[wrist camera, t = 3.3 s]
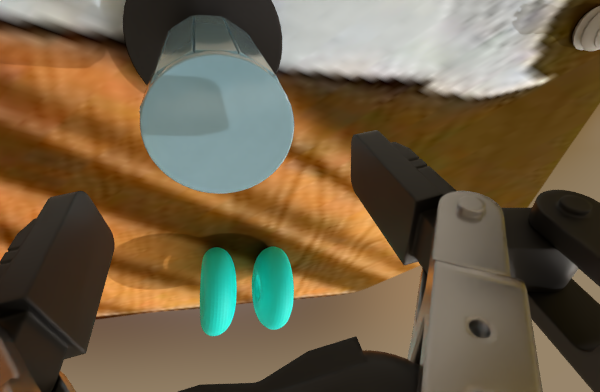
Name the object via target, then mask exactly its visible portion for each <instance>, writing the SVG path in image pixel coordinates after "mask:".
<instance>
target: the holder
mask: <svg viewBox="0 0 600 392" xmlns="http://www.w3.org/2000/svg"><path fill="white" fill-rule="evenodd" d="M192 15H193V16H194V15H208V16H222V18H224V17H225V18H226V19H228V20H229V21H230V22H232V23H233V24H235V25H236V26H238V27H239V28H241V29H242V30H244V31H245V32H246V33H247V34H248V35H249V36H250V38H251V39H252V41H253V42H254V44H255V45H256V47H257V48H258V50H259V51H260V53H261V54H262V56H263V57H264V59H265V60H266V62H267V63H268V64H269V66H270V67H271V69H272V70H273V72H274V73H275V75H276V73H277V71H278V68H279V64H280V60H281V53H282V33H281V26H280V22H279V18H278V15H277V12H276V10H275V7H274V5H273V3H272V1H271V0H126V3H125V7H124V15H123V32H124V38H125V43H126V47H127V50H128V54H129V56H130V58H131V61H132V63H133V65H134V67H135V69H136V70H137V72H138V74H139V75H140V77H141V78H142V79H143V81H144V82H145V83H146V84H147V86H148V83H149V80H150V77H151V74H152V72H153V69H154V66H155V63H156V60H157V57H158V54H159V52H160V50H161V47H162V45H163V43H164V40H165V38H166V35H167V33H168V31H170V29H171V28H172V27H174V26H176V25H177V24H179V23H181V22H182V21H184V20H185V19H187V18H189V17H190V16H192Z"/></svg>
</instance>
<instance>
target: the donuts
mask: <svg viewBox="0 0 600 392" xmlns="http://www.w3.org/2000/svg"><path fill="white" fill-rule="evenodd" d="M236 293H237V285H236V272H235V266H234V263H233V260H232V258H231V256H230V255H229V253H228V252H227V251H226V250H224V249H222V248H219V247H214V248H211V249H209V250H208V251H207V252H206V253H205V254H204V256H203V260H202V267H201V284H200V320H201V327H202V329H203V331H204V332H205V333H206V334H207V335H210V336H217V335H220V334H222V333H223V332H224V331H226V330H227V328H228V327H229V325H230V324H231V321H232V319H233V316H234V312H235V306H236ZM293 297H294V285H293V275H292V269H291V265H290V262H289V259H288V257H287V255H286V254H285V252H284V251H283V250H282V249H280V248H278V247H268V248H266V249H264V250H263V251H262V252H261V253H260V254H259V255H258V257H257V259H256V261H255V264H254V269H253V275H252V298H253V305H254V309H255V312H256V315H257V317H258V319H259V320H260V322H261V323H262V324H263V325H264V326H265V327H267V328H269V329H273V330H275V329H279V328H281V327H283V326H284V325H285V324H286V323H287V321H288V319H289V317H290V314H291V311H292V306H293Z"/></svg>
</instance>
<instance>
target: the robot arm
mask: <svg viewBox="0 0 600 392" xmlns="http://www.w3.org/2000/svg"><path fill="white" fill-rule="evenodd" d="M351 182H352V186H353V189H354V191H355V193H356V195H357V196H358V198H359V199H360V201H361V202H362V204H363V205H364V207H365V208H366V210H367V211H368V213H369V214H370V216H371V217H372V219H373V220H374V222H375V223H376V225H377V226H378V228H379V229H380V231H381V232H382V233H383V235H384V236H385V238H386V239H387V241H388V242H389V244H390V245H391V247H392V248H393V250H394V251H395V253H396V254H397V256H398V257H399V259H400V260H401V262H402V263H403V265H407V264H411V263H414V262H419V263H420V265H421V266H422V272H421V278H420V284H419V291H418V299H417V306H416V313H415V320H414V327H413V333H412V339H411V343H410V348H409V354H408V359H405V358H402V357H399V356H397V355H393V354H389V353H385V352H379V351H362V349H361V346H360V344H359V342H358V339H357V337H353V338H349V339H347V340H343V341H340V342H337V343H334V344H330V345H327V346H324V347H321V348H317V349H314V350H311V351H308V352H306V353H305V354H303V355H301V356H300V357H298V358H297V359H295V360H293V361H292V362H290V363H289V364H287V365H285V366H284V367H282V368H281V369H279V370H278V371H276V372H274V373H273V374H271V375H270V376H268V377H266V378H265V379H263V380H261V381H259V382H256V383H239V384H208V385H198V386H195V387H191V388H188V389H185V390H182V391H179V392H543V391H542V385H541V378H540V372H539V365H538V359H537V352H536V345H535V340H534V333H533V326H532V320H533V321H534V322H535V323H536V324H537V326H538V327H539V328H540V329H541V330H542V331H543V333H544V334H545V335H546V336H547V337H548V339H549V340H550V341H551V342H552V343H553V344H554V346H555V347H556V348H557V349H558V350H559V352H560V353H561V354H562V355H563V356H564V357H565V359H566V360H567V361H568V362H569V363H570V364H571V366H572V367H573V368H574V369H575V370H576V371H577V373H578V374H579V375H580V376H581V377H582V379H583V380H584V381H585V382H586V383H587V384H588V386H589V387H590V388H591V389H592V390H593V391H594V392H600V304H599V303H597V302H596V301H595V300H594V299H593V298H592V297H591V296H590V295H589V294H588V293H587V292H586V291H584V290H583V289H582V288H581V287H580V286H579V285H578V284H577V283H576V282H575V281H574V280H573V279H572V277H573V275H574V274H575V273H576V271H577V270H578V269H580V270H581V271H583V272H584V273H585V274H586V275H587V276H588V277H589V278H590V279H592V280H593V281H594V282H595V283H596V284H597V285H599V286H600V203H599V202H597V201H595V200H594V199H592V198H590V197H587V196H585V195H582V194H579V193H576V192H571V191H565V190H551V191H546V192H543V193H541V194H540V195H539V196H538V197H537V199H536V201H535V203H534V205H533V207H532V208H501V207H500V206H499V205H498V204H497V203H496V202H495V201H493V200H492V199H490V198H488V197H486V196H484V195H481V194H478V193H474V192H469V191H456V190H455V189H454V188H453V187H452V186H450V185H449V184H448V183H447V182H446V181H445V180H444V179H443V178H442V177H440V176H439V175H438V174H437V173H436V172H435V171H434V170H433V169H432V168H430V167H429V166H428V167H427V164H426V163H425V162H424V161H423V160H422V159H419V157H418V156H417V155H416V154H415V153H414V152H413V151H412V150H411V149H409V148H407V147H405V146H403V145H401V144H398V143H396V142H392V143H390V142H389V141H388V140H387V139H386V138H385V137H384V136H383V135H382V134H381V133H380V132H379V131H377V130H375V131H370V132H366V133H361V134H356V135H354V136H353V137H352V142H351ZM113 252H114V238H113V234H112V232H111V230H110V228H109V227H108V225H107V224H106V222H105V220H104V219H103V217H102V216H101V214H100V213H99V211H98V210H97V208H96V206H95V205H94V203H93V202H92V200H91V199H90V197H89V196H88V195H87V194H86V193H85V192H83V191H78V192H73V193H68V194H64V195H59V196H54V197H51V198H49V199H48V200H47V202H46V204H45V205H44V207H43V209H42V210H41V212H40V214H39V215H38V217H37V219H34V220H33V221H31V222H30V223H29V224H28V225H27V226H26V227H25V228H24V229H22V230H21V231H20V232H19V233H18V234H17V235H16V237H15V239H14V240H13V242H12V243H11V245H10V246H9V248H8V252H6V253H5V254H4V256H3V257H2V259H1V261H0V392H76V391H75V390H74V388H73V386H72V385H71V383H70V382H69V380H68V379H67V377H66V376H65V375H64V374H63V373H62V372H61V371H60V369H61V366H62V363H63V360H64V359H67V358H71V357H74V356H78V355H81V354H85V353H86V351H87V347H88V343H89V340H90V336H91V332H92V329H93V325H94V322H95V318H96V314H97V311H98V307H99V303H100V300H101V296H102V292H103V289H104V285H105V281H106V278H107V274H108V271H109V267H110V263H111V260H112V256H113ZM531 319H532V320H531Z"/></svg>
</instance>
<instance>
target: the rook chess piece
mask: <svg viewBox="0 0 600 392" xmlns="http://www.w3.org/2000/svg"><path fill="white" fill-rule="evenodd" d="M572 41H573V44H574V46H575V47H576V49H579V50H583V49H584V50H586V51H595V50H598V49H600V6H598V7H596V8H594V9H592V10H591V11H589V12H588V13H586V14H585V15H584V16H583V17H582V18H581V20H580V21H579V22H578V24H577V26H576V27H575V30H574V32H573V39H572Z"/></svg>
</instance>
